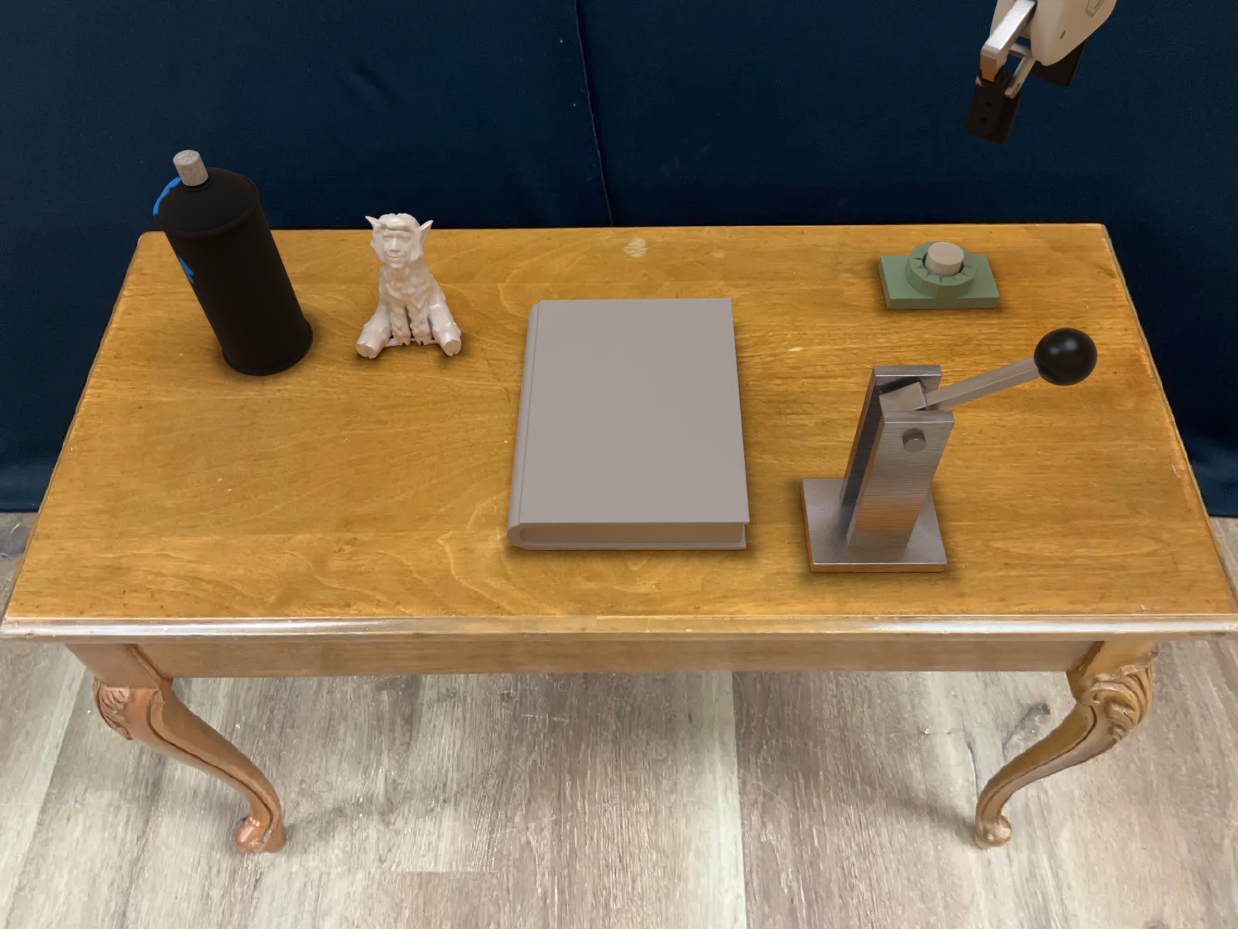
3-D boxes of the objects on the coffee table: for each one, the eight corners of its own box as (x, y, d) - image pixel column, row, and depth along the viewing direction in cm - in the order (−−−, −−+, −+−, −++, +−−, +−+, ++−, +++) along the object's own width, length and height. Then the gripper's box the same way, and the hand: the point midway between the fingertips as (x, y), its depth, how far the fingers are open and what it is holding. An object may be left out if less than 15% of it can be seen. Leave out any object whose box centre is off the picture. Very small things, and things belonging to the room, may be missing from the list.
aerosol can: (324, 314, 92) (255, 127, 76) (298, 378, 87) (219, 193, 71) (240, 310, 92) (155, 123, 76) (209, 373, 87) (111, 188, 71)
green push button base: (981, 264, 93) (990, 240, 91) (996, 308, 90) (1005, 284, 87) (877, 266, 94) (883, 241, 91) (887, 310, 90) (893, 285, 87)
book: (731, 297, 86) (749, 521, 71) (728, 328, 89) (745, 549, 74) (526, 299, 86) (503, 522, 72) (530, 330, 89) (509, 550, 75)
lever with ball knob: (1092, 343, 62) (1081, 307, 59) (1109, 385, 59) (1098, 349, 57) (891, 412, 67) (873, 382, 65) (900, 453, 65) (882, 423, 62)
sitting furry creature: (357, 362, 88) (321, 259, 78) (368, 296, 93) (336, 192, 83) (462, 357, 88) (439, 253, 78) (467, 292, 93) (446, 187, 83)
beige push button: (956, 253, 90) (960, 240, 89) (963, 277, 88) (967, 264, 87) (921, 254, 91) (925, 241, 89) (927, 277, 89) (931, 264, 87)
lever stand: (924, 486, 78) (977, 347, 65) (944, 572, 73) (1005, 440, 60) (799, 487, 78) (828, 349, 65) (810, 572, 73) (843, 441, 60)
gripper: (1095, -77, 54) (1005, 182, 67) (1222, -174, 61) (1118, 76, 75) (974, -115, 57) (911, 140, 70) (1109, -202, 64) (1029, 43, 78)
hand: (1018, 107), depth 73 cm, fingers open, 9 cm apart
